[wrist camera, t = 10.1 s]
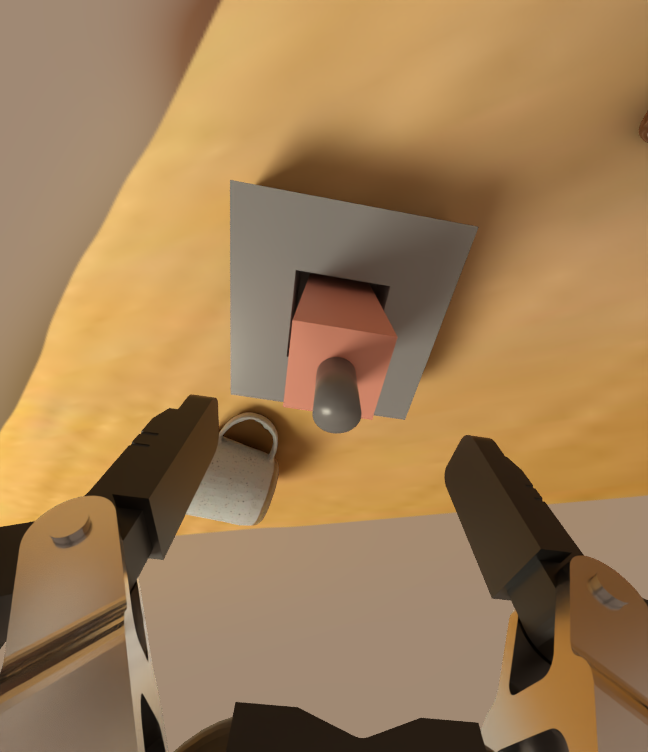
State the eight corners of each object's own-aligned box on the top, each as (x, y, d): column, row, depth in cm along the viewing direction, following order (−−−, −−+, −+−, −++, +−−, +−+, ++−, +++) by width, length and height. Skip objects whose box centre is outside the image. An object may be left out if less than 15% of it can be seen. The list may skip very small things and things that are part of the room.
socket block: (252, 187, 20) (230, 179, 15) (447, 224, 20) (478, 226, 16) (247, 364, 27) (230, 394, 22) (393, 387, 27) (404, 419, 23)
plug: (310, 272, 21) (281, 349, 9) (368, 283, 22) (415, 370, 9) (303, 328, 24) (271, 450, 11) (356, 337, 24) (380, 465, 12)
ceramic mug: (265, 485, 35) (250, 549, 28) (199, 465, 33) (166, 527, 27) (297, 423, 30) (288, 481, 23) (222, 395, 29) (189, 449, 22)
